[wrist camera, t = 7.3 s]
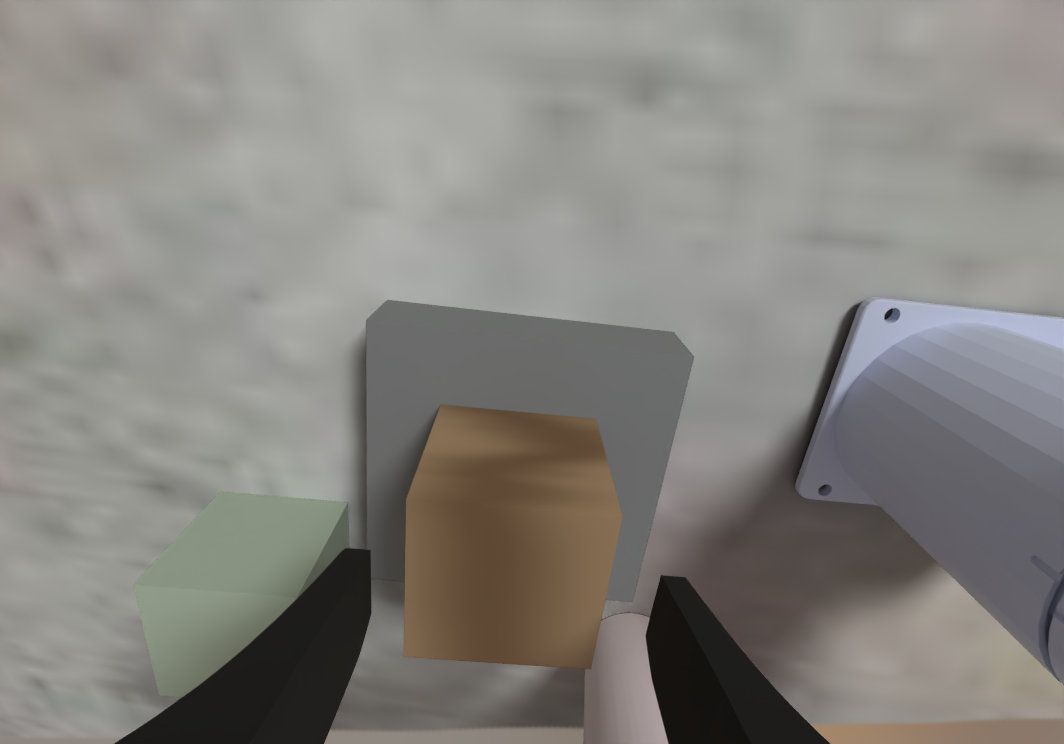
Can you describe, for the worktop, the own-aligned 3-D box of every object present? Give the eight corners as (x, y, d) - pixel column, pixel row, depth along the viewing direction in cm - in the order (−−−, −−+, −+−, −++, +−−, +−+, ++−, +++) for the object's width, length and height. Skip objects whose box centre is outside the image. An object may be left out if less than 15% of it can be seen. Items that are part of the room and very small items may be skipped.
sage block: (348, 500, 21) (297, 597, 16) (351, 595, 23) (305, 705, 18) (222, 490, 21) (132, 584, 16) (235, 586, 22) (158, 695, 18)
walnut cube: (596, 418, 17) (622, 516, 12) (574, 542, 18) (590, 669, 14) (440, 404, 16) (406, 499, 12) (435, 531, 18) (403, 656, 14)
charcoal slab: (669, 327, 19) (694, 356, 16) (619, 547, 22) (632, 602, 20) (391, 295, 18) (366, 320, 15) (387, 525, 22) (366, 578, 19)
